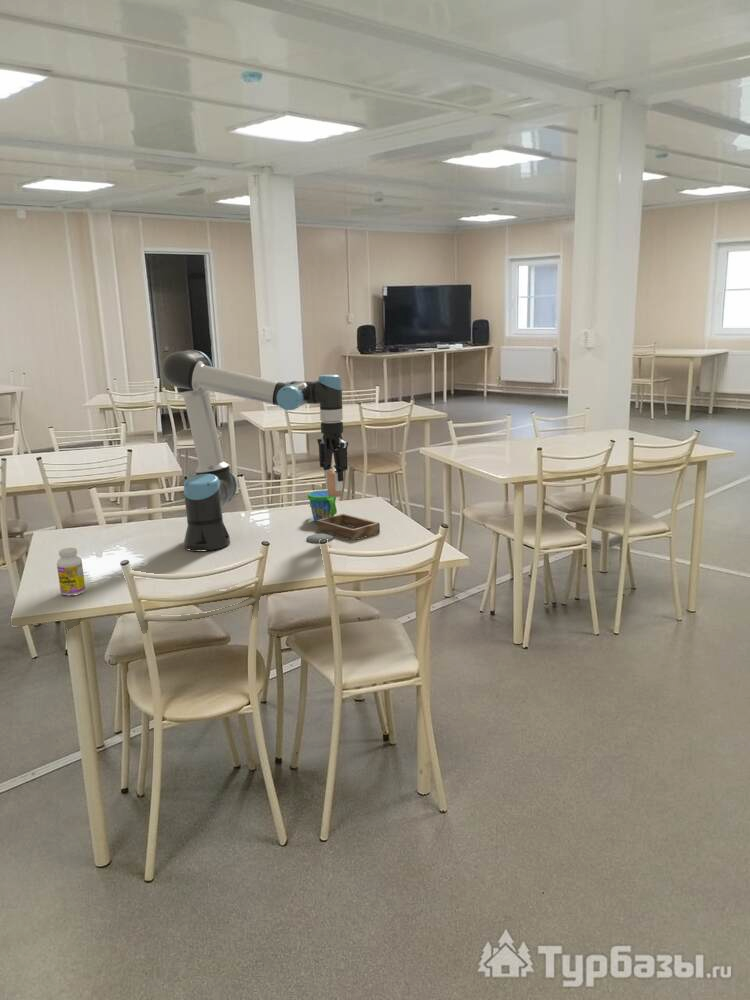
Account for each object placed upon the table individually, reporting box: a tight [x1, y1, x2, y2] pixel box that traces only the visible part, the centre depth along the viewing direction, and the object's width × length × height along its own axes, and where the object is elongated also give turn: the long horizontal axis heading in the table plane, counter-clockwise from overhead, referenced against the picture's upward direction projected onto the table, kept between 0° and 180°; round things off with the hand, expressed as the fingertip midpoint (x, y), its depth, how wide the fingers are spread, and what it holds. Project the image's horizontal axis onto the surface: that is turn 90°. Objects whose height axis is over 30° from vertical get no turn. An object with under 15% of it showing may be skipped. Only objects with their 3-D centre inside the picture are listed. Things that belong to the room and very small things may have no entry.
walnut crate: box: [316, 513, 381, 541], centre depth 269 cm, size 12×20×4 cm, turn 42°
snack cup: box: [307, 489, 338, 522], centre depth 284 cm, size 16×10×10 cm
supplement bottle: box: [56, 547, 86, 596], centre depth 218 cm, size 7×7×13 cm
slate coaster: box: [306, 533, 334, 544], centre depth 261 cm, size 9×9×1 cm
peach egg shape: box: [327, 470, 342, 498], centre depth 262 cm, size 5×5×8 cm
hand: (334, 489), depth 263 cm, fingers closed on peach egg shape, 4 cm apart
